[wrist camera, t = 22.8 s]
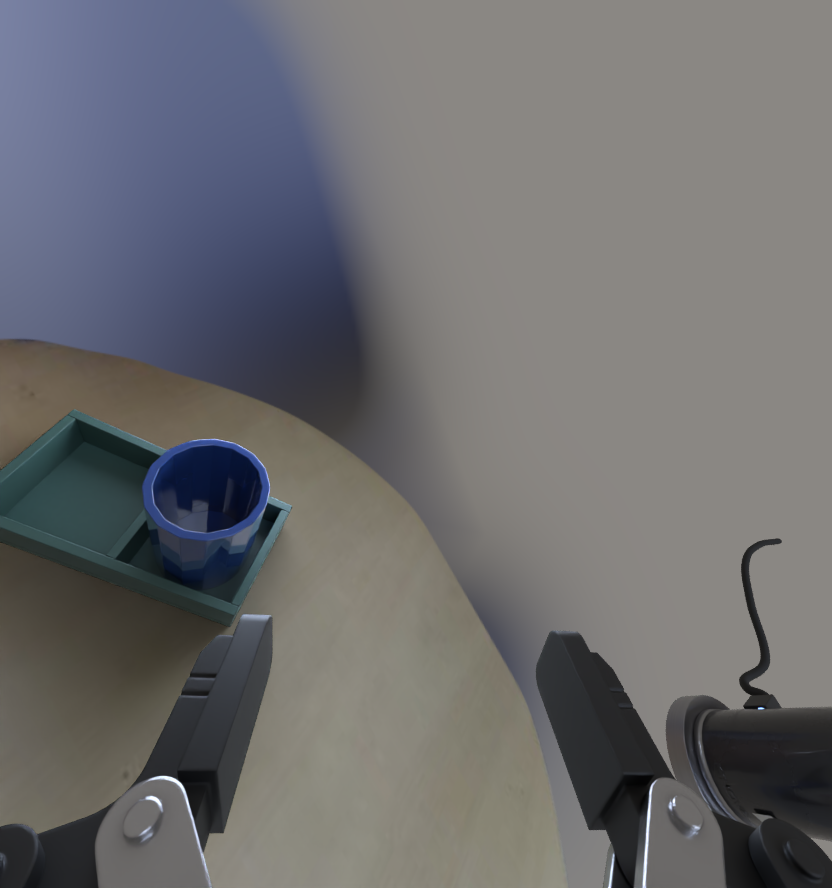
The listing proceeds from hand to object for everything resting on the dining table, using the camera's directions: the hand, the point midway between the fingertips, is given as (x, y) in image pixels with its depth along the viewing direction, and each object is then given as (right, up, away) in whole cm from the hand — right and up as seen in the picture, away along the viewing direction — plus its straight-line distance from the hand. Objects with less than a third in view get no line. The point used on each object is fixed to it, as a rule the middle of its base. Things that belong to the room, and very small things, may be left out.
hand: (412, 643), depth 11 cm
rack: (-19, 0, +17) cm, 26 cm away
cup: (-15, -2, +17) cm, 23 cm away
